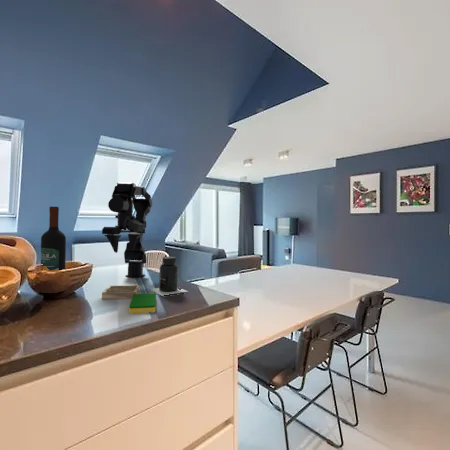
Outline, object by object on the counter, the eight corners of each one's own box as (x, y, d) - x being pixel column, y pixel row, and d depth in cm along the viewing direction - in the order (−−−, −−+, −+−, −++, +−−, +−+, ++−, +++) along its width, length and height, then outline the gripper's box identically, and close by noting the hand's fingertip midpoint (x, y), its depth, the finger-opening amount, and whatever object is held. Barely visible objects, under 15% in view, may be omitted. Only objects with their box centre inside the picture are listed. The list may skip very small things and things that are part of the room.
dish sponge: (128, 315, 80) (129, 306, 79) (133, 301, 93) (133, 293, 93) (155, 313, 81) (155, 305, 81) (155, 300, 95) (155, 293, 95)
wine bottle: (69, 291, 103) (70, 207, 102) (46, 295, 96) (48, 205, 96) (58, 288, 107) (59, 207, 106) (35, 291, 100) (37, 206, 100)
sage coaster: (151, 290, 106) (151, 288, 106) (175, 287, 112) (175, 285, 112) (161, 296, 98) (161, 294, 98) (187, 293, 104) (187, 291, 104)
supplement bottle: (156, 291, 102) (157, 258, 101) (161, 287, 108) (162, 255, 108) (175, 292, 101) (176, 258, 101) (179, 288, 108) (180, 256, 108)
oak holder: (109, 291, 104) (109, 285, 104) (139, 290, 105) (139, 285, 105) (101, 299, 93) (101, 292, 93) (135, 298, 95) (135, 292, 95)
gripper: (124, 212, 105) (123, 255, 105) (155, 214, 122) (154, 250, 122) (101, 212, 109) (100, 253, 109) (134, 214, 126) (134, 249, 127)
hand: (124, 251), depth 117 cm, fingers open, 9 cm apart
